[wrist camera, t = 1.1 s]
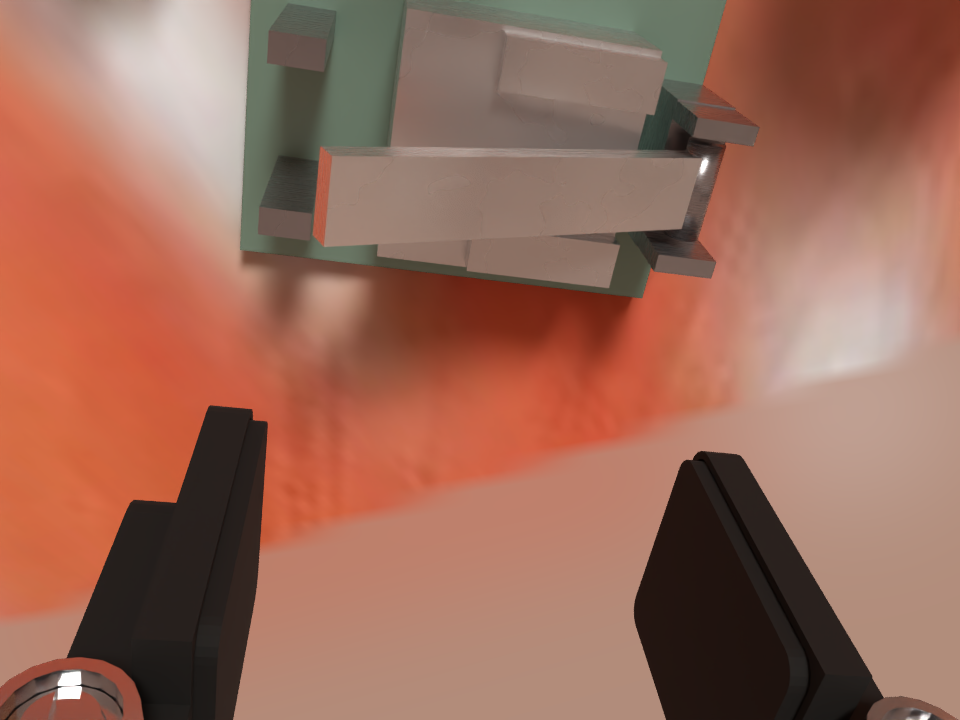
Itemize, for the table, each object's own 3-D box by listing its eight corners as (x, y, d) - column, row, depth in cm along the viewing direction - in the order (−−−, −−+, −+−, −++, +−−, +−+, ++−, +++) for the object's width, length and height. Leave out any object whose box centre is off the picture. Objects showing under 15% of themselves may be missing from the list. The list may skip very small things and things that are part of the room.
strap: (708, 136, 29) (733, 148, 28) (681, 227, 31) (705, 241, 30) (318, 127, 22) (336, 142, 21) (308, 246, 24) (325, 264, 23)
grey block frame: (713, 44, 31) (774, 79, 26) (654, 253, 35) (698, 317, 30) (289, -28, 29) (269, -6, 24) (275, 203, 33) (255, 264, 28)
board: (721, -19, 31) (731, -15, 30) (636, 287, 37) (642, 298, 36) (259, -104, 29) (255, -103, 28) (243, 239, 34) (240, 249, 33)
